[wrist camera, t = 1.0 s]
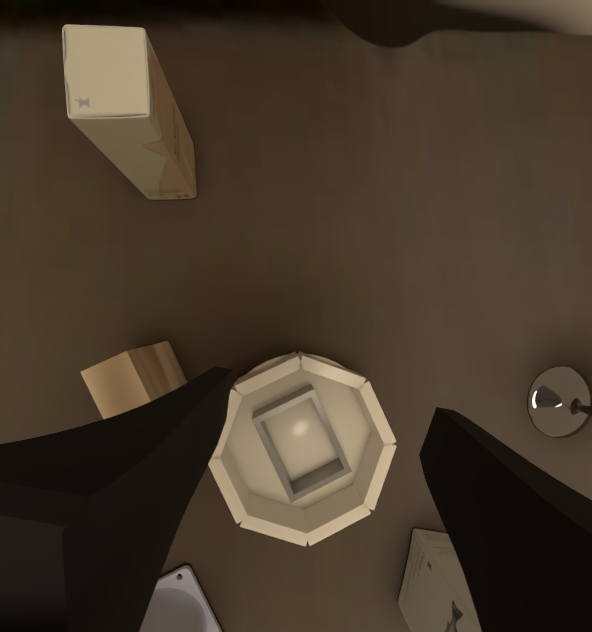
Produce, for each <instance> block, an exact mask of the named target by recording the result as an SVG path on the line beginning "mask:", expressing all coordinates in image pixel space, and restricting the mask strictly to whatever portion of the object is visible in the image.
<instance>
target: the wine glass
mask: <svg viewBox="0 0 592 632" xmlns="http://www.w3.org/2000/svg"><path fill="white" fill-rule="evenodd" d="M527 406H528V412H529V416H530V418H531V421H532V422H533V424H534V425H535V426H536V428H537V429H538V430H539V431H541V432H542V433H543V434H545V435H547V436H550V437H554V438H566V437H570V436H572V435H574V434H576V433H578V432H579V431H580V430H582V429H583V428H584V427H585V425H586V424H587V423H588V421H589V419H590V417H591V416H592V388H591V386H590V384H589V382H588V380H587V379H586V378H585V377H584V376H583V375H582V374H581V373H580V372H579V371H577V370H575V369H573V368H570V367H566V366H557V367H552V368H549V369H547V370H545V371H544V372H542V373H541V374H540V375H539V376H538V377H537V378H536V379H535V381H534V382H533V384H532V386H531V388H530V390H529V394H528V400H527Z"/></svg>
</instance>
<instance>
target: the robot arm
mask: <svg viewBox="0 0 592 632" xmlns="http://www.w3.org/2000/svg"><path fill="white" fill-rule="evenodd" d="M232 372H233V370H232V369H227V368H221V367H214V368H212V369H210V370H208V371H207V372H205V373H203V374H202V375H200V376H198V377H196V378H195V379H193V380H191V381H189V382H188V383H186V384H184V385H182V386H181V387H179V388H177V389H175V390H173V391H171V392H169V393H167V394H165V395H163V396H161V397H159V398H157V399H155V400H153V401H151V402H149V403H146V404H144V405H142V406H139V407H137V408H134V409H132V410H129V411H126V412H124V413H121V414H118V415H116V416H113V417H110V418H106V419H103V420H100V421H97V422H93V423H90V424H87V425H84V426H81V427H77V428H73V429H69V430H65V431H62V432H58V433H54V434H49V435H45V436H40V437H36V438H31V439H26V440H21V441H16V442H10V443H5V444H0V632H222V630H221V628H220V626H219V624H218V622H217V620H216V618H215V616H214V614H213V612H212V610H211V608H210V606H209V604H208V601H207V599H206V597H205V595H204V593H203V591H202V589H201V587H200V585H199V583H198V581H197V579H196V577H195V575H194V573H193V571H192V569H191V567H190V566H188V565H185V566H182V567H180V568H179V569H177V570H175V571H173V572H171V573H169V574H167V575H165V576H163V577H161V578H159V576H160V574H161V571H162V568H163V566H164V563H165V560H166V558H167V555H168V552H169V550H170V547H171V545H172V542H173V539H174V537H175V534H176V532H177V529H178V527H179V524H180V521H181V519H182V517H183V515H184V512H185V510H186V508H187V506H188V504H189V502H190V500H191V498H192V496H193V494H194V492H195V490H196V488H197V486H198V484H199V482H200V480H201V478H202V475H203V473H204V471H205V469H206V467H207V465H208V463H209V461H210V459H211V457H212V455H213V453H214V451H215V449H216V447H217V445H218V442H219V439H220V436H221V434H222V431H223V428H224V425H225V422H226V419H227V411H228V403H229V395H230V388H231V380H232ZM419 456H420V460H421V464H422V468H423V472H424V475H425V479H426V482H427V485H428V488H429V490H430V493H431V495H432V497H433V500H434V502H435V505H436V507H437V510H438V512H439V514H440V517H441V519H442V521H443V524H444V526H445V528H446V531H447V533H448V536H449V538H450V540H451V543H452V545H453V547H454V550H455V552H456V554H457V557H458V560H459V562H460V565H461V568H462V570H463V573H464V576H465V579H466V582H467V585H468V588H469V592H470V595H471V598H472V601H473V604H474V607H475V610H476V613H477V617H478V620H479V624H480V627H481V631H482V632H592V500H590V499H588V498H587V497H585V496H583V495H582V494H580V493H578V492H576V491H575V490H573V489H571V488H570V487H568V486H566V485H565V484H563V483H562V482H560V481H558V480H557V479H555V478H554V477H552V476H550V475H549V474H547V473H546V472H544V471H543V470H541V469H540V468H538V467H537V466H535V465H534V464H532V463H531V462H529V461H528V460H526V459H525V458H523V457H522V456H520V455H519V454H517V453H516V452H515V451H513V450H512V449H510V448H509V447H507V446H506V445H505V444H503V443H502V442H500V441H499V440H498V439H496V438H495V437H493V436H492V435H491V434H489V433H488V432H486V431H485V430H484V429H482V428H481V427H479V426H478V425H476V424H475V423H473V422H472V421H471V420H469V419H468V418H466V417H464V416H463V415H461V414H460V413H458V412H456V411H454V410H449V409H443V408H438V407H437V408H436V411H435V413H434V416H433V419H432V421H431V424H430V427H429V430H428V432H427V435H426V438H425V441H424V443H423V446H422V449H421V452H420V454H419ZM178 574H181V575H182V576H178Z"/></svg>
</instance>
